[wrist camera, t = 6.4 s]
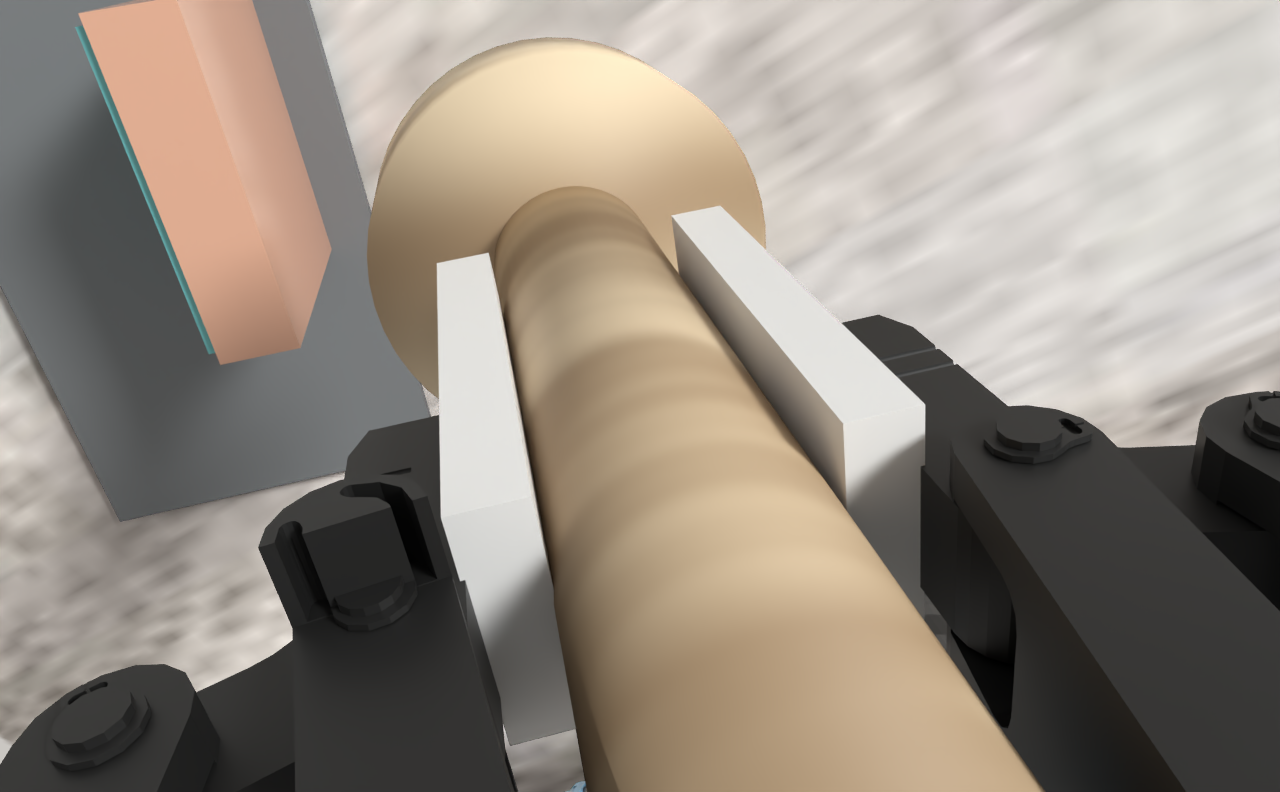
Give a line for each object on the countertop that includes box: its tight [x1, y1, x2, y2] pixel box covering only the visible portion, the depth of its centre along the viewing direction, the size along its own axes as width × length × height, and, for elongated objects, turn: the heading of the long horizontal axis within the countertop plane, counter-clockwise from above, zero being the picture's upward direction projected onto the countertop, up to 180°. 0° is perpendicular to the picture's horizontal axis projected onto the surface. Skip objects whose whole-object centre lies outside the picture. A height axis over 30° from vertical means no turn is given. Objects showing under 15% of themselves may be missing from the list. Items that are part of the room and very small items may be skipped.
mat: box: [0, 0, 431, 522], centre depth 35 cm, size 26×14×1 cm, turn 8°
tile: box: [75, 0, 332, 365], centre depth 30 cm, size 10×3×10 cm, turn 8°
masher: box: [367, 37, 1046, 792], centre depth 12 cm, size 7×7×16 cm
